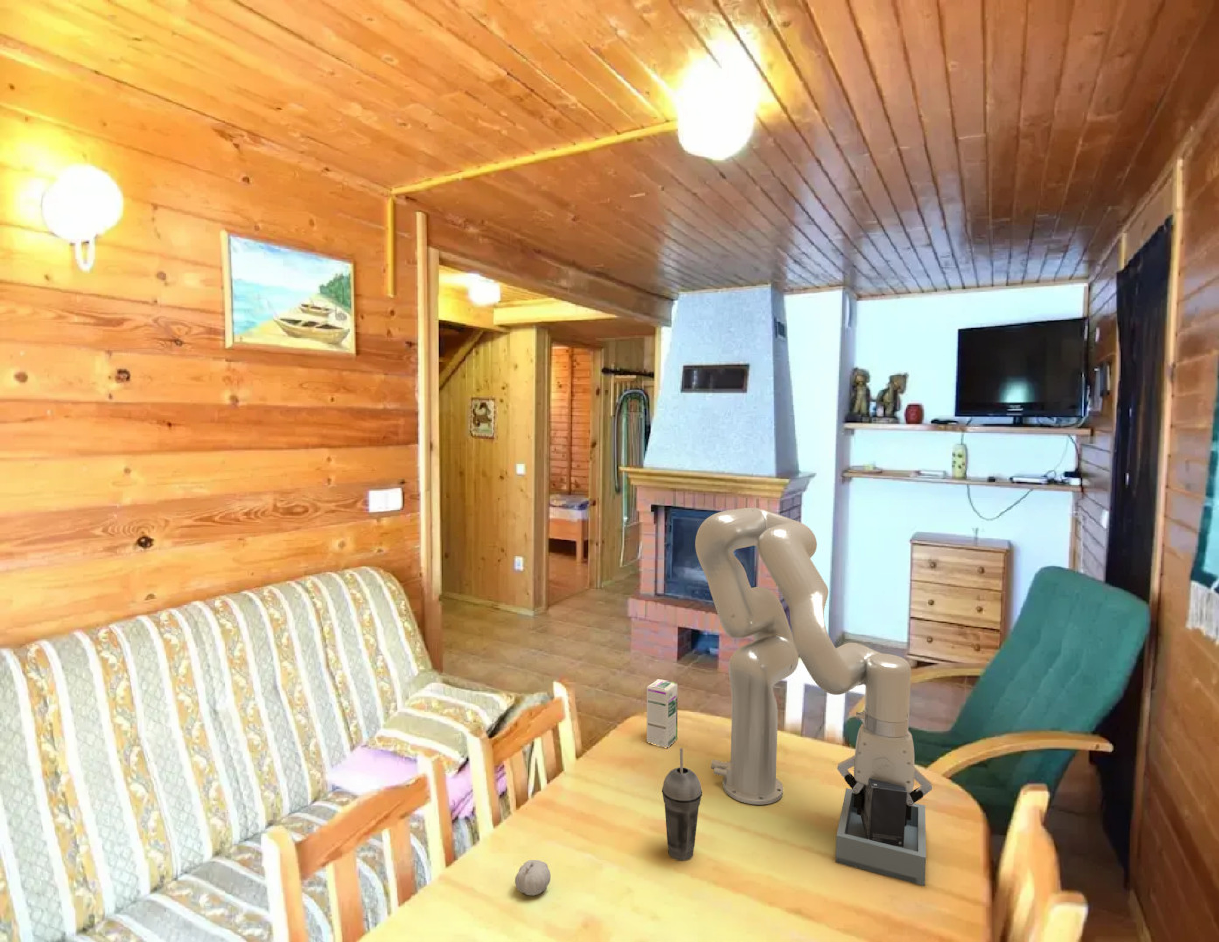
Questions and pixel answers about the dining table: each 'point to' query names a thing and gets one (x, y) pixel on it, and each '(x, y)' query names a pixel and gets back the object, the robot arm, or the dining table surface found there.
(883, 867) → the crate
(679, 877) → the dining table surface
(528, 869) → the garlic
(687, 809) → the beverage cup
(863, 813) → the small box
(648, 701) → the syrup box
